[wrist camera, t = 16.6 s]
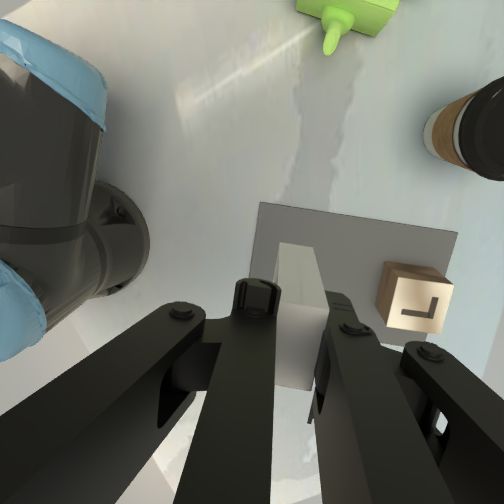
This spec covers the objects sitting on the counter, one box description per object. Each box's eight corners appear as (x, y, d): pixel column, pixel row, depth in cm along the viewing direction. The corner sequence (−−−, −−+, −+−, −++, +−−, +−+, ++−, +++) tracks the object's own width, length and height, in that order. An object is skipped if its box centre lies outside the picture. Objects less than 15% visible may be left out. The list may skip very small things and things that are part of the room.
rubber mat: (243, 318, 51) (242, 319, 51) (260, 201, 47) (260, 202, 47) (421, 348, 50) (422, 349, 50) (457, 232, 46) (458, 232, 46)
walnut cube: (440, 334, 43) (421, 311, 49) (454, 285, 41) (433, 267, 47) (386, 326, 43) (374, 305, 49) (398, 277, 41) (384, 261, 47)
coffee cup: (495, 157, 43) (599, 165, 29) (419, 180, 45) (482, 198, 30) (483, 81, 41) (588, 49, 27) (403, 107, 43) (463, 89, 28)
